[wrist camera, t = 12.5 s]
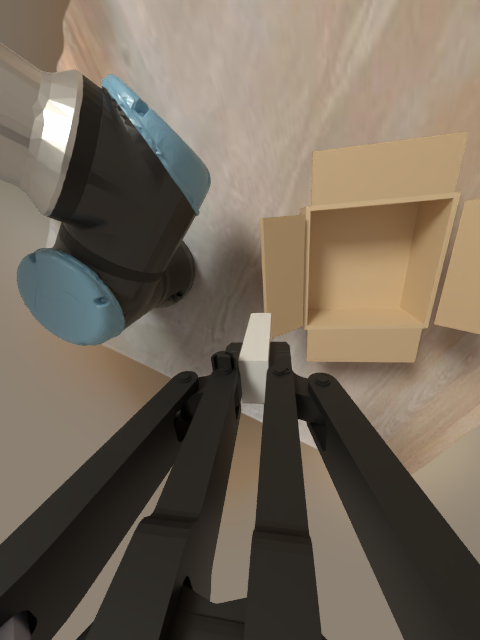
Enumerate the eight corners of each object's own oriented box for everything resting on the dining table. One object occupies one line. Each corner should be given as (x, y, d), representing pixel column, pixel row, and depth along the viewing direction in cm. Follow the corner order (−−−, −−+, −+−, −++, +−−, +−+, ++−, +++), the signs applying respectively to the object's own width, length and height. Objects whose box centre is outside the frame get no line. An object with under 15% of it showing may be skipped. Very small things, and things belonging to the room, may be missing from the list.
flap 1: (299, 325, 37) (265, 338, 34) (301, 215, 31) (259, 218, 28) (302, 326, 37) (268, 340, 34) (305, 214, 31) (263, 218, 28)
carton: (298, 339, 48) (302, 361, 40) (301, 165, 36) (307, 152, 29) (396, 339, 45) (419, 362, 38) (432, 149, 33) (476, 130, 26)
